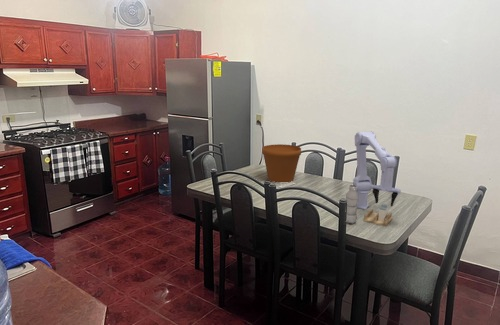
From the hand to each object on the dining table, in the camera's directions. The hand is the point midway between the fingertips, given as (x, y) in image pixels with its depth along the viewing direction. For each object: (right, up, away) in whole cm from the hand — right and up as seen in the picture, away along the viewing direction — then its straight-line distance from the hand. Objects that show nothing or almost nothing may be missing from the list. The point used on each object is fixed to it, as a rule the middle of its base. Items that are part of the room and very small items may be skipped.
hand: (384, 204), depth 190 cm
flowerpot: (-48, +9, +77) cm, 91 cm away
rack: (-2, -9, +4) cm, 10 cm away
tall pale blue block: (0, -8, +2) cm, 8 cm away
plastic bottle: (-18, -10, 0) cm, 20 cm away
